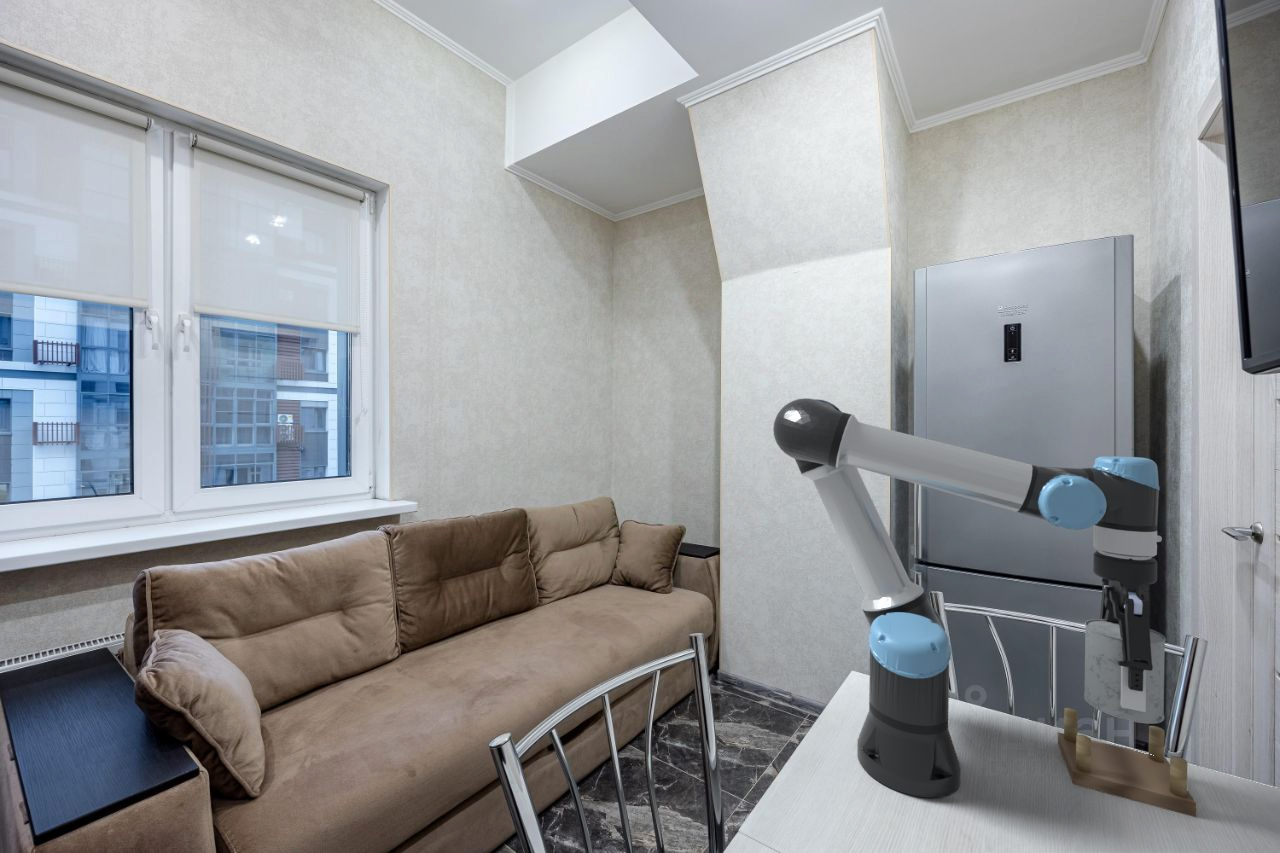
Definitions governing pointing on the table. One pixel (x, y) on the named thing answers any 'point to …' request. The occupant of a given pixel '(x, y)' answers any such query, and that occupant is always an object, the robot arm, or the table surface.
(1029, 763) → the table surface
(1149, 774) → the peg stand
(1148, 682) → the grey marbled cylinder
